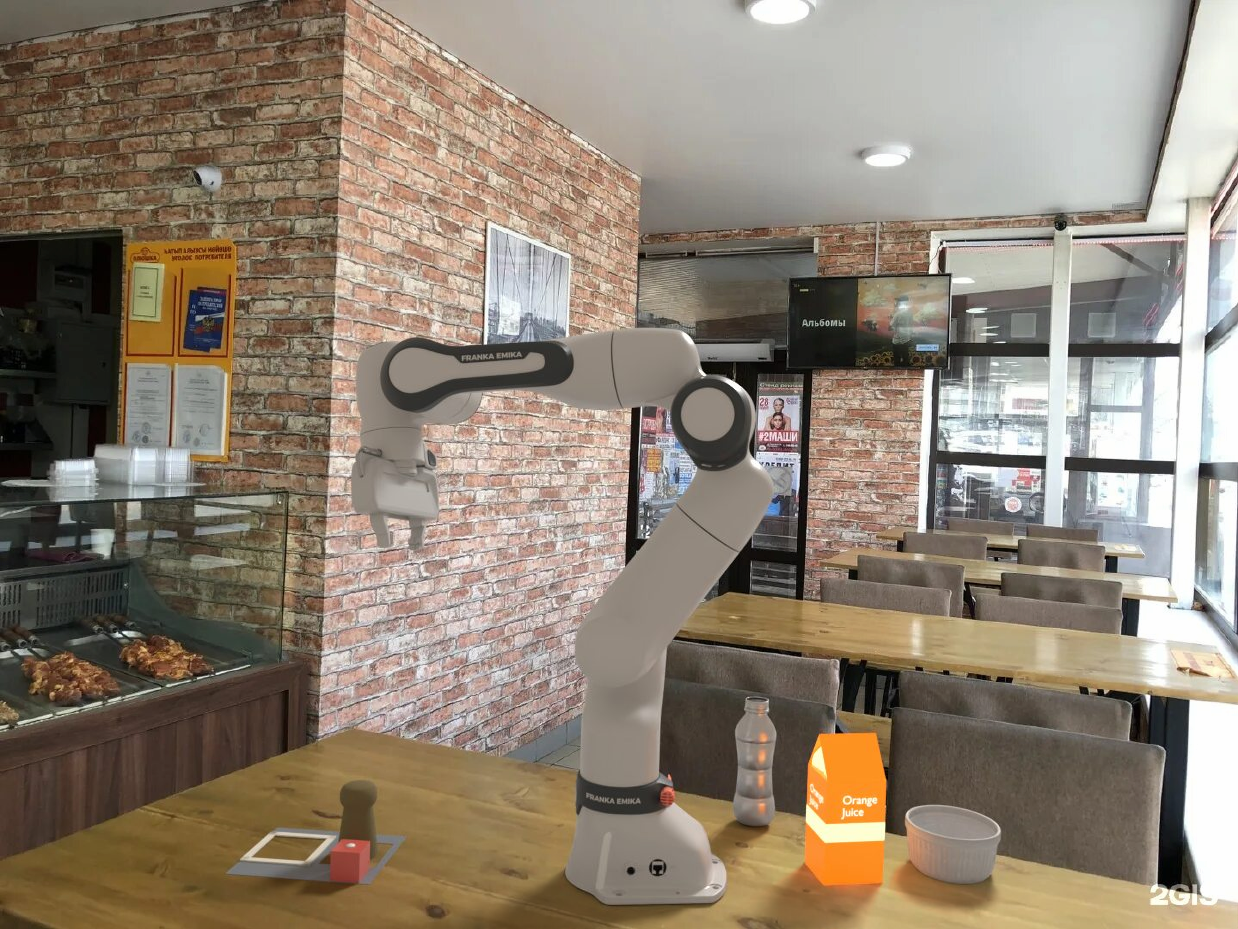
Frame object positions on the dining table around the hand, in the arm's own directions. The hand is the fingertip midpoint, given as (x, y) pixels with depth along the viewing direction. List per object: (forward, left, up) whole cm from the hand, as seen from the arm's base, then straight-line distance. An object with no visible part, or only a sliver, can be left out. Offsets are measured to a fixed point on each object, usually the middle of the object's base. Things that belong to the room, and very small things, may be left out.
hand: (401, 549), depth 139 cm
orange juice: (-64, -6, -45) cm, 78 cm away
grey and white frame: (+10, +2, -44) cm, 45 cm away
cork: (+5, +1, -45) cm, 45 cm away
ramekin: (-80, -10, -45) cm, 92 cm away
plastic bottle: (-52, -22, -45) cm, 72 cm away
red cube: (+3, +8, -44) cm, 44 cm away
